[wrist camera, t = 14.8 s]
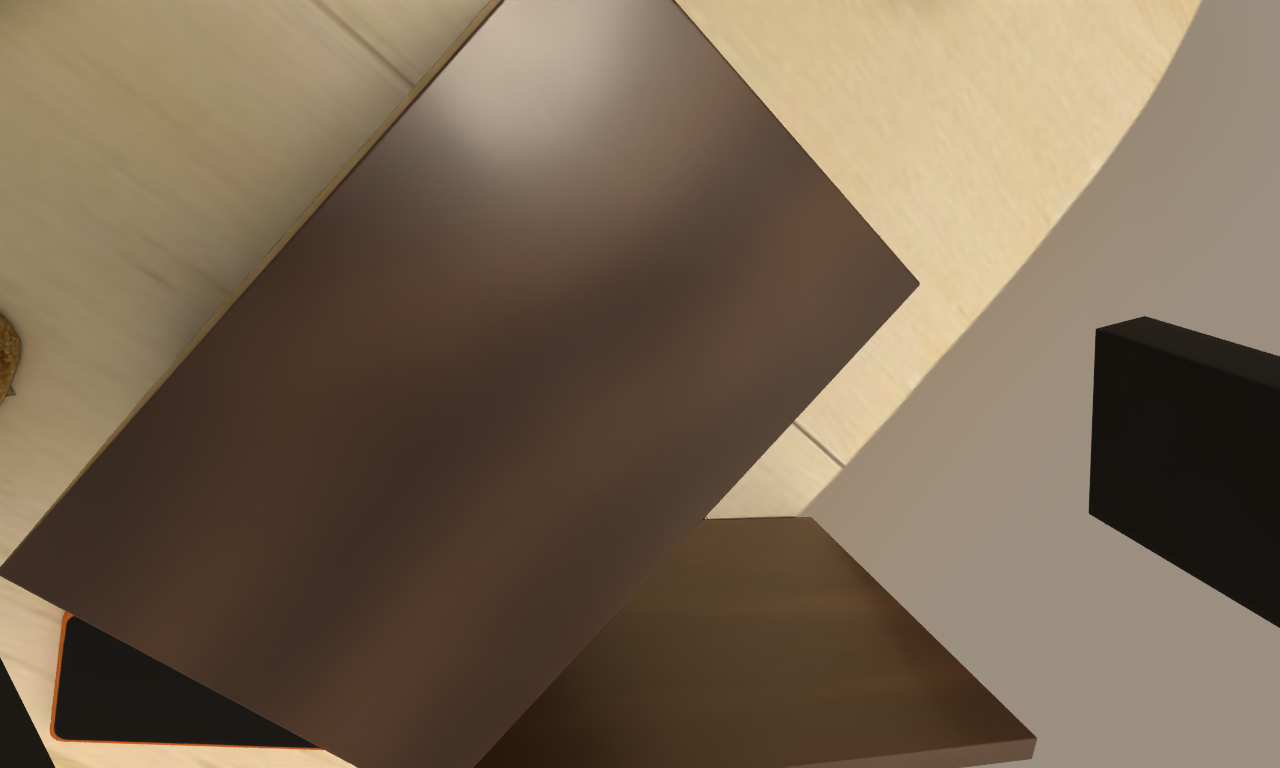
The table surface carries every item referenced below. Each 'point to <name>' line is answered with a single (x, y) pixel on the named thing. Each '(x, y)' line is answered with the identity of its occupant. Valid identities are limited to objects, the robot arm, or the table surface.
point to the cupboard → (475, 389)
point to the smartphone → (145, 700)
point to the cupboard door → (762, 671)
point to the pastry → (7, 357)
